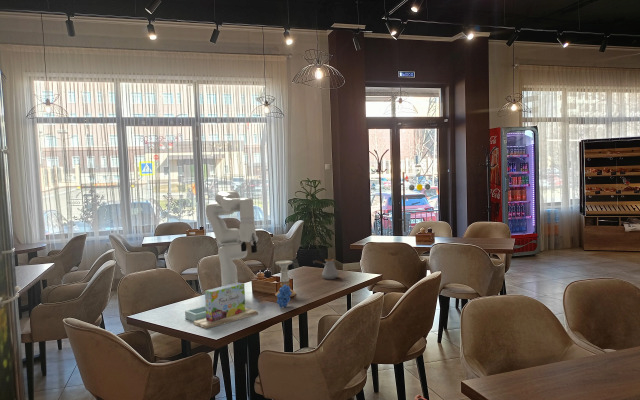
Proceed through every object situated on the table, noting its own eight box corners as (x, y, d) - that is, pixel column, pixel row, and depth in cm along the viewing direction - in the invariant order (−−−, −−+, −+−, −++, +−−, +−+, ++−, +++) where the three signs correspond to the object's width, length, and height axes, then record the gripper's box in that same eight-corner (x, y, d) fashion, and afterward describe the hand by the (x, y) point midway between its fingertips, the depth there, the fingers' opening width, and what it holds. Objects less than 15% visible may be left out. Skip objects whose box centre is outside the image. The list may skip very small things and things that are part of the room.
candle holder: (298, 296, 272) (296, 262, 271) (277, 298, 268) (275, 264, 268) (293, 291, 284) (291, 259, 283) (273, 294, 280) (271, 261, 279)
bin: (185, 318, 238) (184, 310, 237) (228, 307, 255) (228, 300, 255) (195, 322, 230) (195, 314, 229) (240, 310, 247) (239, 303, 247)
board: (193, 324, 227) (193, 321, 227) (244, 310, 248) (244, 307, 248) (206, 328, 218) (205, 325, 218) (257, 314, 239) (257, 311, 239)
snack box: (213, 322, 223) (211, 291, 222) (205, 320, 227) (204, 290, 226) (246, 311, 239) (244, 282, 239) (239, 310, 243) (237, 281, 242)
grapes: (285, 303, 257) (284, 282, 257) (294, 304, 253) (293, 283, 253) (271, 308, 248) (270, 286, 247) (281, 310, 244) (280, 287, 243)
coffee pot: (329, 275, 326) (328, 254, 325) (342, 277, 318) (341, 255, 318) (308, 281, 310) (307, 259, 310) (321, 283, 302) (320, 260, 302)
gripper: (232, 221, 256) (234, 251, 257) (250, 222, 244) (252, 254, 245) (244, 219, 262) (245, 249, 262) (262, 220, 249) (263, 252, 250)
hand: (249, 251), depth 253 cm, fingers open, 9 cm apart
